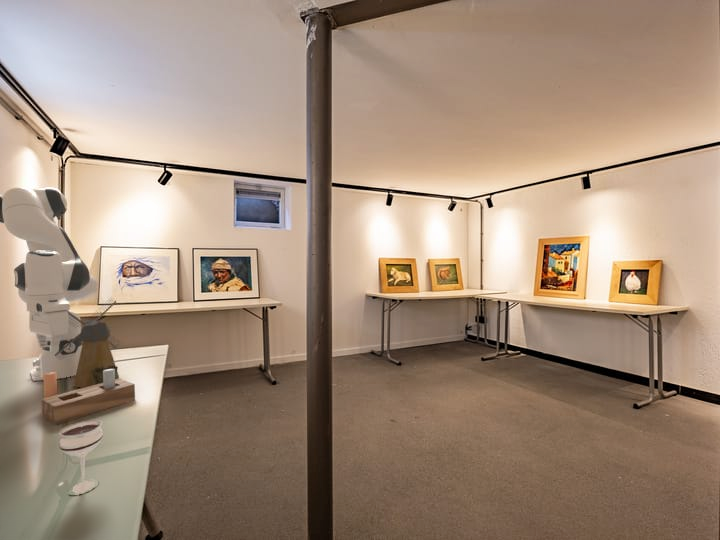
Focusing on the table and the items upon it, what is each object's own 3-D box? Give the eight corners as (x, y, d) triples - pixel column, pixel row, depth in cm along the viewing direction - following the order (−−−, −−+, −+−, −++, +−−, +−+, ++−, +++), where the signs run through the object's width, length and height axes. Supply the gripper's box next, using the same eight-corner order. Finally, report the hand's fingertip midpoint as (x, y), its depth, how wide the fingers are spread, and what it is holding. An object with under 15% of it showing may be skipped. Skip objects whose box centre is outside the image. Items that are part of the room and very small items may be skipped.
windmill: (120, 370, 143) (117, 296, 141) (138, 376, 135) (135, 298, 134) (52, 387, 125) (49, 302, 123) (69, 395, 117) (65, 304, 116)
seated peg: (102, 402, 111) (101, 370, 110) (113, 399, 113) (112, 368, 113) (106, 404, 109) (105, 372, 109) (117, 401, 112) (116, 369, 111)
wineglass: (106, 473, 74) (104, 416, 74) (102, 491, 68) (100, 430, 68) (64, 484, 71) (62, 425, 70) (57, 504, 65) (54, 440, 64)
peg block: (42, 416, 101) (41, 399, 101) (120, 393, 118) (119, 378, 118) (55, 424, 96) (54, 406, 96) (135, 399, 113) (134, 384, 112)
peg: (43, 406, 108) (41, 374, 108) (55, 403, 110) (54, 371, 110) (46, 408, 106) (45, 375, 106) (59, 405, 109) (57, 373, 108)
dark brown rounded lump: (89, 397, 115) (88, 373, 114) (93, 390, 121) (92, 367, 121) (116, 393, 118) (115, 369, 118) (119, 386, 125) (119, 363, 124)
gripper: (21, 303, 110) (23, 347, 111) (44, 307, 99) (47, 356, 100) (47, 301, 115) (49, 343, 116) (72, 304, 104) (74, 350, 105)
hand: (48, 349), depth 108 cm, fingers open, 8 cm apart
